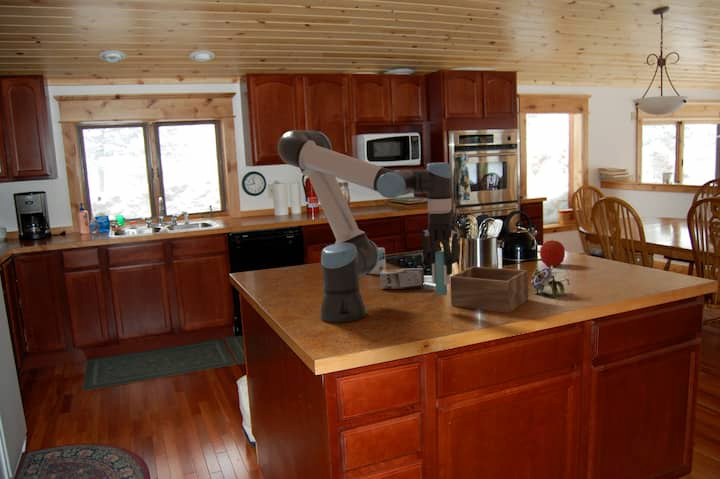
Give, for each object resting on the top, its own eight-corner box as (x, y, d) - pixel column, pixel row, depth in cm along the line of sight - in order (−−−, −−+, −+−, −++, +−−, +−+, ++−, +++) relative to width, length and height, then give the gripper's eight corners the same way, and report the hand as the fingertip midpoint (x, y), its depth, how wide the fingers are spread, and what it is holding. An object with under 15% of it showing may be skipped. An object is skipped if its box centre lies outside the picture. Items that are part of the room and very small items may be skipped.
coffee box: (380, 289, 214) (422, 289, 210) (379, 273, 213) (421, 272, 209) (384, 284, 222) (424, 283, 219) (383, 268, 222) (423, 267, 218)
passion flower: (537, 309, 194) (521, 279, 199) (564, 299, 196) (548, 270, 201) (550, 298, 184) (533, 266, 188) (578, 288, 186) (560, 257, 191)
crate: (508, 312, 174) (507, 281, 173) (451, 305, 186) (450, 276, 185) (528, 299, 187) (527, 270, 186) (473, 293, 200) (472, 266, 198)
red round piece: (568, 267, 230) (568, 240, 229) (544, 268, 231) (544, 241, 229) (560, 262, 240) (560, 236, 239) (537, 264, 241) (536, 237, 239)
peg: (443, 296, 178) (442, 253, 176) (433, 294, 180) (432, 252, 178) (448, 293, 181) (448, 251, 179) (439, 292, 183) (438, 250, 181)
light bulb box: (386, 271, 246) (385, 247, 244) (379, 274, 240) (377, 250, 239) (366, 270, 252) (364, 246, 250) (358, 273, 246) (356, 249, 245)
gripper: (469, 211, 174) (469, 283, 178) (423, 209, 184) (424, 278, 188) (458, 214, 168) (459, 289, 172) (411, 212, 178) (413, 283, 182)
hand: (441, 283), depth 180 cm, fingers closed on peg, 3 cm apart
